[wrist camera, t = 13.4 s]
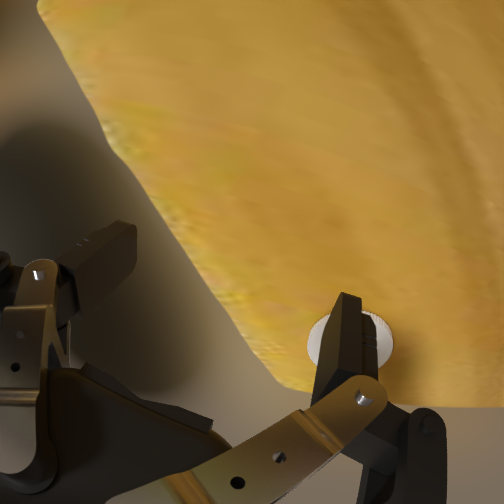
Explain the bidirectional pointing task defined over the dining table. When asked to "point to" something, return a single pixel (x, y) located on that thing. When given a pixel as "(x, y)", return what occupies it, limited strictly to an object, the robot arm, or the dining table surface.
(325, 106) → the dining table surface
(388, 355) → the plastic lid
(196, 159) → the dining table surface
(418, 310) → the dining table surface
